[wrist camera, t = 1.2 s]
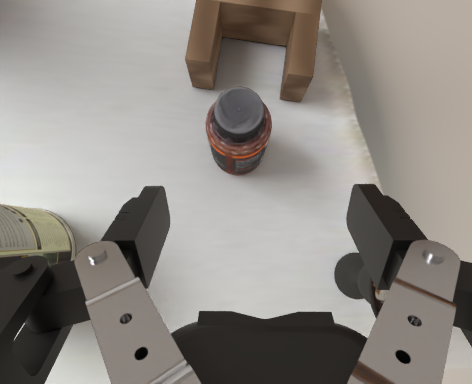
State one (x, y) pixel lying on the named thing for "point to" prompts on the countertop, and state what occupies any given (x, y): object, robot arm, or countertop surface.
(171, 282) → the countertop surface
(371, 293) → the sundae
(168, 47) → the countertop surface
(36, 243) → the coffee can
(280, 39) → the walnut u-shaped holder
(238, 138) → the supplement bottle
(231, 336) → the robot arm
